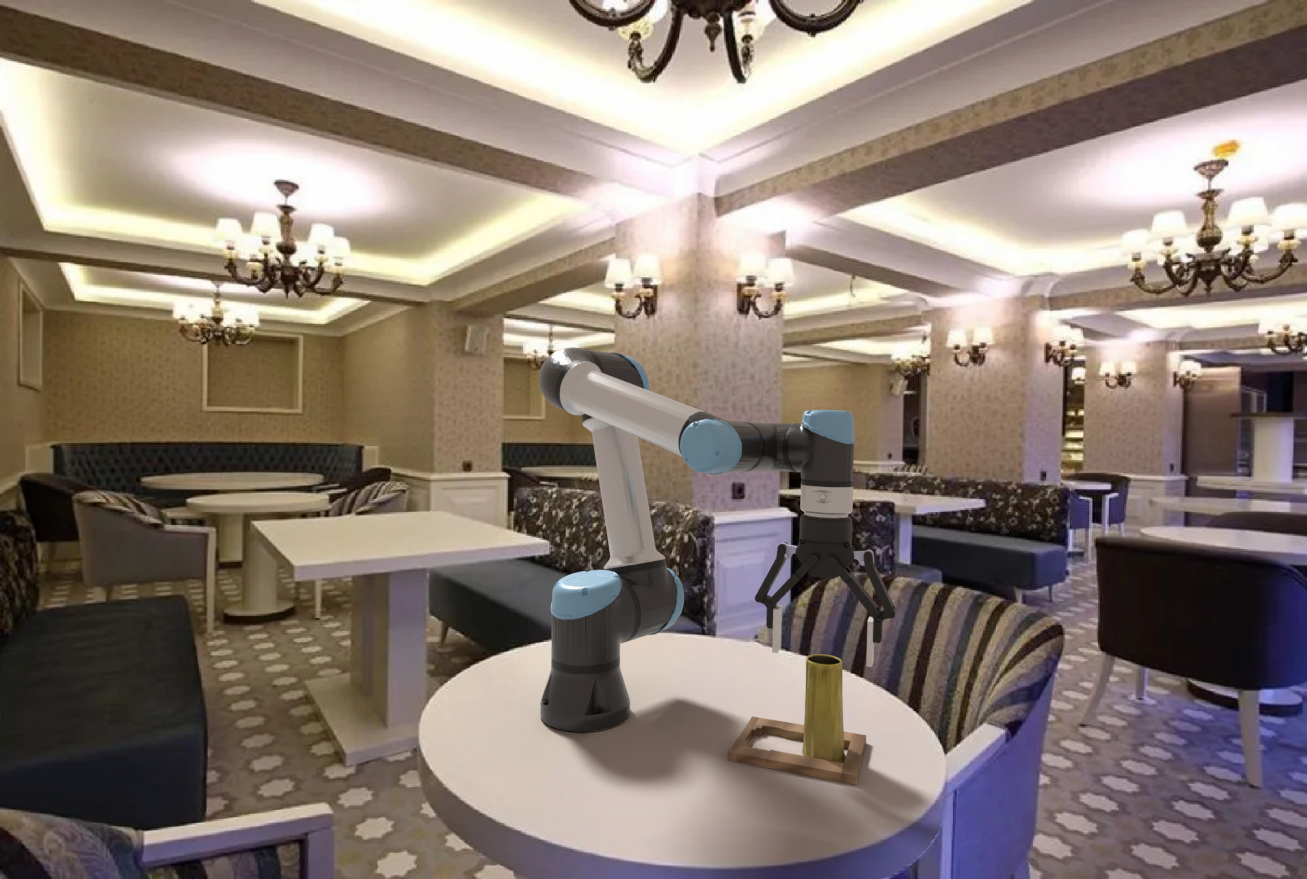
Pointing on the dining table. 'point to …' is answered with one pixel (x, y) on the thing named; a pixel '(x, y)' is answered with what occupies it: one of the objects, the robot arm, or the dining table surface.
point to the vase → (823, 709)
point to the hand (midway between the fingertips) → (822, 657)
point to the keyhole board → (793, 762)
